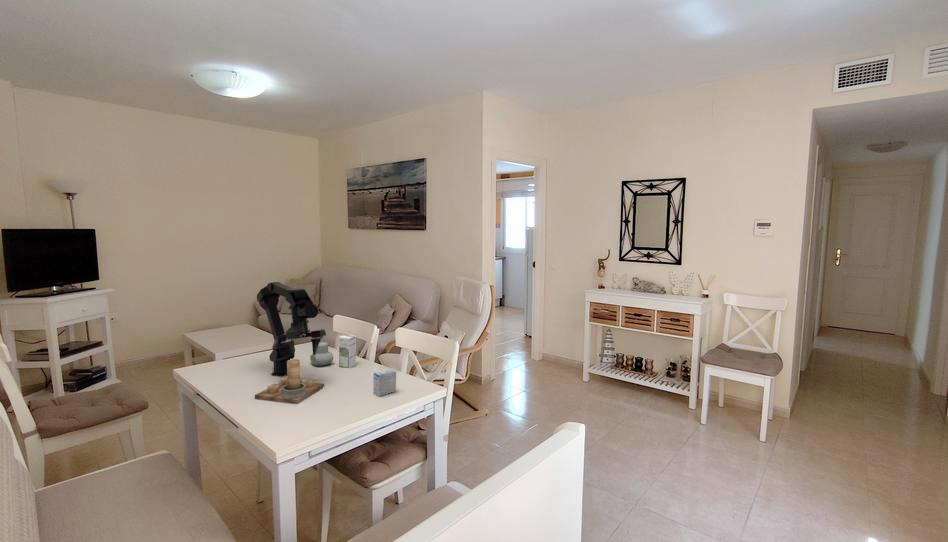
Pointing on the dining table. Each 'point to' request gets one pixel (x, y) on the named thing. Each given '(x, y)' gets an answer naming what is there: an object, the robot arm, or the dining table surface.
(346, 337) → the syrup box
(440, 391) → the dining table surface
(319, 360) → the air freshener
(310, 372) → the dining table surface
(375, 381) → the medicine box
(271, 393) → the stool seat
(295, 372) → the stool leg
